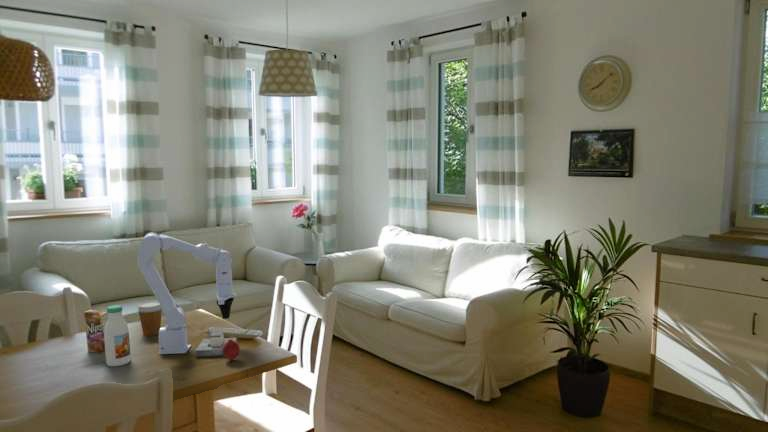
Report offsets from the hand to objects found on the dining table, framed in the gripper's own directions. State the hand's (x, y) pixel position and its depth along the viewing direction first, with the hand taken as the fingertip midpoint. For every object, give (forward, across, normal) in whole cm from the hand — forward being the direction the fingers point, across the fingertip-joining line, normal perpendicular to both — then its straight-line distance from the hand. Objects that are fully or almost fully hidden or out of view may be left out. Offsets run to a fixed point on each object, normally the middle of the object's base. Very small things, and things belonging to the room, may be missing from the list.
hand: (226, 318), depth 209 cm
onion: (+10, -18, -5) cm, 21 cm away
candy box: (+10, -3, +45) cm, 46 cm away
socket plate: (+10, -7, +2) cm, 12 cm away
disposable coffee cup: (+10, +16, +33) cm, 38 cm away
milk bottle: (+10, -15, +34) cm, 39 cm away
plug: (+10, -7, +2) cm, 12 cm away
